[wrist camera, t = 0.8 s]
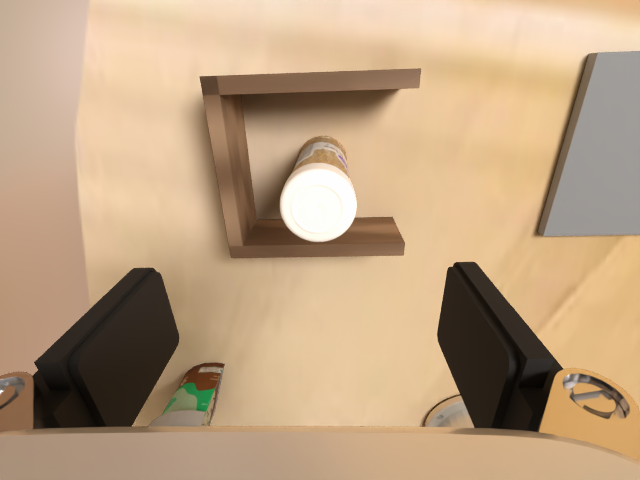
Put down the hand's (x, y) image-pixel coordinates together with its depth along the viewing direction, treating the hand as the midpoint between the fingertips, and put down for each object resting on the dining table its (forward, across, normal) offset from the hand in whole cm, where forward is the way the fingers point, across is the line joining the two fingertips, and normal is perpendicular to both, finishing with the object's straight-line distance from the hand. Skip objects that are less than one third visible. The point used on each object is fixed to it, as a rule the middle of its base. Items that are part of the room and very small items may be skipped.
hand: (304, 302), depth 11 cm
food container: (+22, +18, +30) cm, 41 cm away
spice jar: (+22, 0, 0) cm, 22 cm away
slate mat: (+22, -30, 0) cm, 37 cm away
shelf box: (+22, 0, 0) cm, 22 cm away
